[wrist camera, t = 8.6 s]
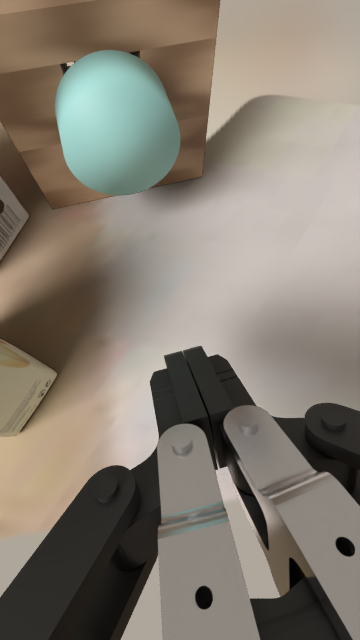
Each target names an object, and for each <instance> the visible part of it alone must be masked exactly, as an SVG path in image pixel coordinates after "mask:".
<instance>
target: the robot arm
mask: <svg viewBox="0 0 360 640" xmlns="http://www.w3.org/2000/svg"><path fill="white" fill-rule="evenodd" d="M183 354H184V355H183ZM164 358H165V362H166V366H167V369H163V370H159V371H156V372H154V373H153V375H152V378H151V380H150V385H151V391H152V397H153V403H154V408H155V414H156V420H157V426H158V431H159V441H158V445H157V447H156V449H155V450H154V452H153V453H152V454H151V456H150V457H149V458H148V459H146V460H145V461H144V462H142V463H141V464H139V465H138V466H136V467H135V468H133V469H131V470H129V469H128V468H126V467H123V466H118V465H115V466H109V467H106V468H104V469H102V470H100V471H98V472H97V473H96V474H94V475H93V476H92V477H91V478H90V479H89V480H88V482H87V483H86V484H85V485H84V487H83V488H82V489H81V491H80V492H79V493H78V495H77V496H76V497H75V499H74V500H73V501H72V503H71V504H70V505H69V507H68V508H67V509H66V511H65V512H64V513H63V515H62V516H61V517H60V519H59V520H58V521H57V523H56V524H55V525H54V527H53V528H52V529H51V531H50V532H49V533H48V535H47V536H46V537H45V539H44V540H43V541H42V543H41V544H40V545H39V547H38V548H37V549H36V551H35V552H34V553H33V555H32V556H31V557H30V559H29V560H28V561H27V563H26V564H25V565H24V567H23V568H22V569H21V571H20V572H19V573H18V575H17V576H16V577H15V579H14V580H13V581H12V583H11V584H10V585H9V587H8V588H7V589H6V591H5V592H4V593H3V595H2V596H1V597H0V640H120V639H121V637H122V635H123V633H124V631H125V628H126V626H127V624H128V622H129V619H130V617H131V615H132V612H133V610H134V608H135V606H136V604H137V602H138V599H139V597H140V595H141V593H142V590H143V588H144V586H145V584H146V581H147V579H148V577H149V575H150V572H151V570H152V568H153V565H154V564H155V562H156V559H157V556H158V555H159V574H160V595H161V612H162V614H161V615H162V633H163V640H360V411H357V410H354V409H351V408H348V407H345V406H341V405H338V404H333V403H321V404H317V405H314V406H312V407H311V408H309V409H308V411H307V412H306V414H305V418H278V417H273V416H271V415H270V414H269V413H268V412H267V411H265V410H264V409H262V408H260V407H257V406H256V405H255V403H254V401H253V400H252V398H251V397H250V395H249V394H248V392H247V390H246V389H245V387H244V386H243V384H242V383H241V381H240V379H239V378H238V377H237V375H236V373H235V372H234V371H233V368H232V367H231V365H230V364H229V362H228V361H227V360H226V359H224V358H223V357H221V356H219V355H218V354H217V355H214V356H210V357H207V355H206V354H205V352H204V350H203V348H202V346H198V347H194V348H190V349H187V350H183V352H182V351H180V352H176V353H172V354H168V355H165V356H164ZM216 459H217V462H218V465H219V467H220V468H223V467H226V466H228V469H229V471H230V474H231V476H232V481H233V487H234V491H235V493H236V495H237V497H238V499H239V501H240V504H241V505H242V508H243V510H244V512H245V514H246V516H247V518H248V520H249V522H250V524H251V526H252V529H253V531H254V533H255V535H256V537H257V539H258V541H259V543H260V546H261V548H262V550H263V552H264V554H265V556H266V559H267V561H268V564H269V567H270V570H271V574H272V577H273V580H274V582H275V585H276V587H277V590H278V592H279V595H280V597H279V598H274V599H249V595H248V591H247V588H246V583H245V580H244V576H243V572H242V568H241V564H240V560H239V557H238V553H237V549H236V546H235V541H234V538H233V534H232V530H231V526H230V523H229V519H228V515H227V512H226V509H225V507H224V504H223V500H222V496H221V492H220V488H219V485H218V481H217V476H216V471H215V470H217V469H218V467H217V462H216Z"/></svg>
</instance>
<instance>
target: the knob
mask: <svg viewBox="0 0 360 640" xmlns="http://www.w3.org/2000/svg"><path fill="white" fill-rule="evenodd" d="M55 114H56V119H57V124H58V129H59V134H60V139H61V144H62V149H63V154H64V158H65V161H66V163H67V165H68V167H69V169H70V170H71V172H72V173H73V175H74V176H75V177H76V178H77V179H78V180H79V181H80V182H82V183H83V184H84V185H86V186H87V187H89V188H91V189H93V190H95V191H98V192H100V193H104V194H109V195H129V194H134V193H138V192H141V191H144V190H146V189H148V188H150V187H152V186H153V185H155V184H157V183H158V182H159V181H160V180H162V179H163V178H164V177H165V176H166V175H167V173H168V172H169V171H170V170H171V168H172V166H173V165H174V163H175V161H176V159H177V156H178V153H179V148H180V130H179V126H178V123H177V120H176V117H175V115H174V112H173V110H172V107H171V104H170V102H169V99H168V97H167V94H166V91H165V89H164V86H163V84H162V82H161V80H160V78H159V77H158V75H157V74H156V73H155V71H154V70H153V69H152V68H151V67H150V66H149V65H148V64H147V63H145V62H144V61H143V60H141V59H140V58H138V57H136V56H134V55H132V54H129V53H127V52H123V51H118V50H103V51H97V52H93V53H91V54H88V55H86V56H84V57H82V58H81V59H79V60H78V61H74V64H73V65H72V66H71V67H70V68H69V69H68V70H67V71H66V73H65V74H64V76H63V77H62V79H61V81H60V83H59V86H58V89H57V93H56V97H55Z"/></svg>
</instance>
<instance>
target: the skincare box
mask: <svg viewBox="0 0 360 640" xmlns="http://www.w3.org/2000/svg"><path fill="white" fill-rule="evenodd" d="M56 376H57V373H56V372H55V371H54V370H52V369H51V368H49V367H48V366H46V365H45V364H43V363H41V362H40V361H38V360H37V359H35V358H33V357H32V356H30V355H28V354H27V353H25V352H23V351H22V350H20V349H18V348H17V347H15V346H13V345H11V344H9V343H7V342H5V341H4V340H2V339H0V437H11V436H16V435H17V434H18V433H19V432H20V430H21V429H22V427H23V426H24V425H25V423H26V422H27V420H28V419H29V418H30V416H31V415H32V413H33V412H34V410H35V409H36V407H37V406H38V405H39V403H40V402H41V400H42V399H43V397H44V396H45V394H46V392H47V391H48V389H49V388H50V386H51V384H52V383H53V381H54V380H55V378H56Z"/></svg>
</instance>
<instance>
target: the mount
mask: <svg viewBox="0 0 360 640" xmlns="http://www.w3.org/2000/svg"><path fill="white" fill-rule="evenodd" d="M219 8H220V0H0V122H1V123H2V125H3V127H4V128H5V130H6V132H7V133H8V135H9V137H10V138H11V140H12V142H13V143H14V145H15V147H16V148H17V150H18V152H19V153H20V155H21V157H22V159H23V160H24V162H25V164H26V165H27V167H28V169H29V170H30V172H31V174H32V175H33V177H34V179H35V180H36V182H37V184H38V185H39V187H40V189H41V190H42V192H43V194H44V195H45V197H46V199H47V200H48V202H49V204H50V206H51V207H52V209H55V208H60V207H64V206H69V205H74V204H78V203H83V202H88V201H92V200H97V199H101V198H106V197H111V196H115V195H109V194H104V193H100V192H98V191H95V190H93V189H91V188H89V187H87V186H86V185H84V184H83V183H82V182H80V181H79V180H78V179H77V178H76V177H75V176H74V175H73V173H72V172H71V170H70V169H69V167H68V165H67V163H66V161H65V158H64V154H63V149H62V144H61V139H60V134H59V129H58V124H57V119H56V114H55V97H56V93H57V89H58V86H59V83H60V81H61V79H62V77H63V76H64V74H65V73H66V71H67V70H68V69H69V68H70V67H71V66H67V64H66V63H68V62H74V61H78V60H79V59H81V58H82V57H84V56H86V55H88V54H91V53H93V52H97V51H103V50H118V51H123V52H127V53H129V54H132V55H134V56H136V57H138V58H140V59H141V60H143V61H144V62H145V63H147V64H148V65H149V66H150V67H151V68H152V69H153V70H154V71H155V73H156V74H157V75H158V77H159V78H160V80H161V82H162V84H163V86H164V89H165V91H166V94H167V97H168V99H169V102H170V104H171V107H172V110H173V112H174V115H175V117H176V120H177V123H178V126H179V130H180V148H179V153H178V156H177V159H176V161H175V163H174V165H173V166H172V168H171V170H170V171H169V172H168V173H167V175H166V176H165V177H164V178H163V179H162V180H160V181H159V182H158V183H157V184H155V185H153V186H152V187H157V186H162V185H166V184H171V183H176V182H180V181H185V180H189V179H194V178H199V177H202V171H203V162H204V152H205V142H206V132H207V123H208V114H209V104H210V94H211V84H212V75H213V65H214V56H215V46H216V37H217V27H218V17H219ZM152 187H150V188H152Z"/></svg>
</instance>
